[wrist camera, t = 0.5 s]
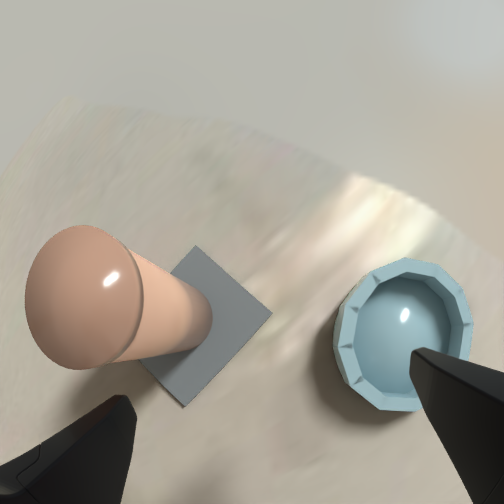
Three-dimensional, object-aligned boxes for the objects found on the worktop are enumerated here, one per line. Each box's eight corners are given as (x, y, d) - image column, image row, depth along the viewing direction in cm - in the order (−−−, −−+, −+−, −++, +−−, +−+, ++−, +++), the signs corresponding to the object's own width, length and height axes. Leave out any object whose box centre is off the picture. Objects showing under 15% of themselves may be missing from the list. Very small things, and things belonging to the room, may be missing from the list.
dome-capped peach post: (182, 366, 22) (75, 398, 9) (135, 318, 23) (9, 296, 10) (228, 315, 23) (165, 293, 10) (178, 268, 24) (80, 199, 11)
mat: (186, 405, 22) (185, 406, 21) (118, 335, 24) (116, 335, 23) (272, 313, 23) (272, 312, 23) (196, 246, 25) (195, 245, 25)
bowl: (400, 427, 20) (414, 436, 17) (303, 348, 22) (306, 350, 20) (473, 321, 21) (491, 318, 19) (387, 240, 24) (399, 230, 21)
